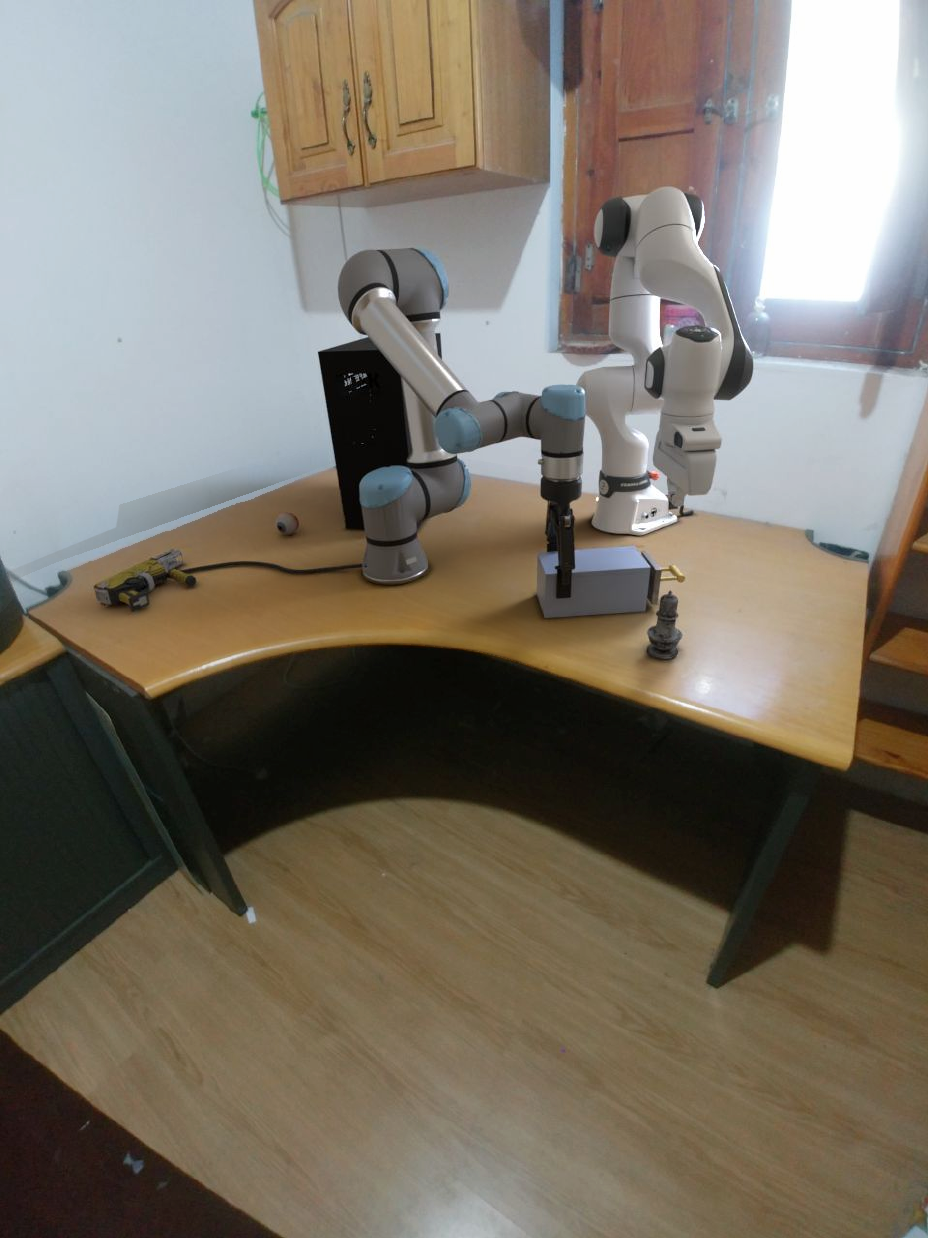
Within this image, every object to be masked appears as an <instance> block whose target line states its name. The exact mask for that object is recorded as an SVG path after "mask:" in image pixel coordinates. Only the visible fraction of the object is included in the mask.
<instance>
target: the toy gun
mask: <svg viewBox="0 0 928 1238" xmlns="http://www.w3.org/2000/svg"><path fill="white" fill-rule="evenodd" d="M179 557H181V560H177V558H179ZM183 564H184V558H183V552H182V551H181V550H179V549H174V548H171V549H169V550H167V551H164V552H163V553H161V554H159V555H156V556H155V557H150V558H148V559H146V560H144V561H142V562H139V563H138V564H135V565H133V566H131V567H129V568H127V569H125V570H122V571H120V572H118V573H116V574H113V575H112V576H110V577H108V578H106V579H104V580H101V581H99V582H97V583H95V584H93V590H94V594H95V598H96V600H97V603H99V604H100V605H101V606H105V607H107V606H117V605H121V604H127V605H128V606H129V607H130V611H131V612H136V611H138V610H141V609H143V608H145V607H147V606H148V607H149V606H150V599H149V595H148V593H149V592H151V591H154V590H155V586H156V585H159V584H161V583H164V582H165V581H168V579H171V580H174V581H177V582H178V583H182V584H183V585H184V584H185V585H186V586H187V587H193V586H195V585H196V584H197V578H196V576H194V575H192V574H188V573H183V572H181V571H179V569H176V568H177V567H180V565H183Z"/></svg>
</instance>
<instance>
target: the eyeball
mask: <svg viewBox="0 0 928 1238" xmlns="http://www.w3.org/2000/svg"><path fill="white" fill-rule="evenodd" d="M299 525H300V522H299V519H298V517H297V516H296V515H295V514H294V513H292V512H287V511H286V512H282V513H280V514H279V515H278V516H277V517H276V520H275V527H276V529H277V530H278V531H279V532H280V533H281V534H282V535H285V536H286V535H287V536H289V535H293V534H295V533H296V532H297V531H298V529H299Z"/></svg>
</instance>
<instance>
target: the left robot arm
mask: <svg viewBox="0 0 928 1238" xmlns="http://www.w3.org/2000/svg"><path fill="white" fill-rule="evenodd" d="M337 296H338V297H337V298H338V301H339V305H340V308H341V310H342V312H343V315H344V316H345V318H346V320H347V321H348V323H350V325H351V326H352V327H353V329H354V331H356V332H357V333H358V334H360V335H363V336H366V337H369V338H370V339H371V341H372V342H373V343H374V344H375V345H376V347H377V348H378V349H379V350H380V351H381V353H382V354H383V355H384V356H385V358H386V359H387V360H388V361H389V362H390V364H391V365H392V366H393V367H394V368H395V370H396V371H397V372H398V373H399V375H400V376H401V382H402V389H403V395H404V402H405V408H406V415H407V422H408V428H409V435H410V441H411V448H412V451H411V453H410V455H409V456H408V458H407V466H408V468H407V467H404V466H390V467H383V468H379V469H376V470H374V471H372V472H370V473H368V474H367V475H365V476H364V477H363V478H362V480H361V482H360V485H359V490H360V503H361V507H362V514H363V520H364V527H365V529H364V534H365V540H366V545H365V551H364V555H363V561H362V563H356V564H355V563H354V564H343V565H337V566H328V567H327V566H326V567H319V568H308V569H297V568H296V569H295V568H288V567H285V566H282V565H279V564H276V563H271V562H264V561H255V560H240V561H239V560H238V561H227V562H220V563H213V564H207V565H202V566H201V565H200V566H196V567H195V566H194V567H190V568H189V567H188V568H184V569H178V571H181V572H183V573H185V574H188V573H193V572H199V571H204V570H205V571H206V570H211V569H217V568H224V567H231V566H260V567H268V568H272V569H273V568H274V569H276V570H279V571H282V572H285V573H289V574H297V575H298V574H299V575H300V574H302V575H303V574H314V573H323V572H333V571H343V570H351V569H362V574H363V575H362V576H363V578H364V579H365V580H366V581H368V582H370V583H373V584H376V585H381V586H399V585H404V584H409V583H412V582H415V581H417V580H419V579H421V578H422V577H424V576H425V575H426V574H427V573H428V571H429V560H428V558H427V555H426V554H425V551H424V549H423V547H422V544H421V542H420V540H419V538H418V537H419V536H418V529H417V526H416V523H417V522H419V521H422V520H424V521H425V520H428V519H430V518H433V517H436V516H439V515H442V514H447V513H450V512H452V511H454V510H455V509H458V508H460V507H462V506H463V505H465V503H466V501H467V500H468V498H469V496H470V493H471V487H472V485H471V484H472V480H471V474H470V471H469V468H467V465H466V463H465V462H464V461H463V460H462V459H460V458H458V454H464V453H465V454H466V453H471V452H474V451H477V450H478V449H481V448H486V447H489V446H491V445H495V444H496V445H497V444H500V443H504V442H507V441H511V440H514V439H517V438H527V439H531V440H532V439H533V440H538V441H540V454H541V455H540V456H541V458H540V459H538V460H537V464H538V465H540V474H541V477H540V489H539V490H540V493H539V494H540V497H541V499H543V500H545V501H546V502H547V505H546V506H547V507H546V519H545V528H544V529H545V530H544V535H545V537H546V538H545V539H546V542H547V543H546V552H552V551H558V564H559V565H558V566H555V570H556V569H557V585H556V598H557V599H560V598H571V581H572V569H575V550H576V549H575V548H576V546H575V520H576V517H575V515H574V510H573V509H574V508H572V507H571V503H572V502H574V501H577V500H579V499H580V498H581V497H582V488H583V478H582V475H583V473H584V457H585V455H584V453H585V452H584V438H585V437H584V436H585V425H586V417H587V415H586V410H585V391H584V389H583V388H582V387H580V386H577V385H576V384H553V385H548V386H545V387H544V388H543V389H542V391H541V395H539V394H531V393H525V392H519V391H515V390H513V391H501V392H498V393H497V394H496V395H495V396H494V397H493V398H492V399H488V400H484V401H483V400H482V401H478V400H477V399H476V398H475V396H474V395H473V394H472V393H471V392H470V391H469V390H468V389H467V387H466V386H465V385H464V384H463V383H462V381H461V380H460V379H459V378H458V377H457V376H456V374H455V373H454V372H453V371H452V370H451V368H450V367H449V366H448V365H447V364H446V362H445V361H444V360H443V358H442V359H441V358H440V357H439V356H438V352H437V344H436V336H435V333H436V329H437V327H438V326H439V324H440V322H441V321H442V318H441V310H443V309H444V308H445V306H446V304H447V303H448V298H449V296H450V285H449V277H448V274H447V272H446V269H445V267H444V264H443V263H442V261H441V259H440V258H439V257H437V256H436V254H435V253H434V252H432V251H430V250H429V249H425V248H415V247H407V248H405V247H404V248H389V249H388V248H387V249H364V250H360V251H358V252H356V253H355V254H353V255H352V256H350V257H349V258H348V259H347V260H346V262H345V263H344V265H343V266H342V268H341V270H340V273H339V276H338V281H337Z"/></svg>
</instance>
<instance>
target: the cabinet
mask: <svg viewBox="0 0 928 1238" xmlns="http://www.w3.org/2000/svg"><path fill="white" fill-rule="evenodd" d="M536 558H537V559H536V597H537V598H538V602H539V605H540V608H541V611H542V613H543V614H542V615H543V617H544V619H554V618H555V619H556V618H568V617H581V616H582V617H583V616H594V615H595V616H597V615H612V614H624V613H625V614H626V613H640V612H646V609H647V601H648V599H647V594H648V585H649V576H650V568H651V567H650V566H649V565H648V563H647V562H646V561H645V559H644V558H643V557H642V555H641V552H640V551H639V550H638V549H637V548H636V546H635V545H625V546H613V547H599V548H598V547H597V548H585V549H583V548H582V549H575V569H572V581H571V598H560V599H557V598H556V585H557V569H556V570H555V566H558V565H559V564H558V551H552V552H547V551H539V552H537V553H536Z"/></svg>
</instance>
